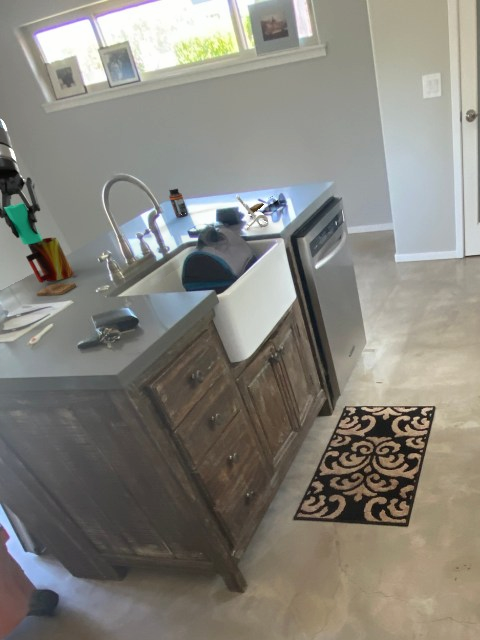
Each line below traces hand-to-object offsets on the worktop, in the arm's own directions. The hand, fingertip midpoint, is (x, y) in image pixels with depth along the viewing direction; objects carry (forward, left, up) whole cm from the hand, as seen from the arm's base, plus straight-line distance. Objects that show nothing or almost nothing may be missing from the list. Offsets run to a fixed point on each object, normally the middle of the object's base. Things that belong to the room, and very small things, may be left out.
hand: (25, 233), depth 164 cm
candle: (-2, +3, -3) cm, 5 cm away
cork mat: (-1, +2, -19) cm, 19 cm away
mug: (-11, +16, -19) cm, 27 cm away
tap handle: (+39, +99, -19) cm, 108 cm away
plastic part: (+46, +69, -19) cm, 85 cm away
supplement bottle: (-5, +101, -19) cm, 103 cm away
